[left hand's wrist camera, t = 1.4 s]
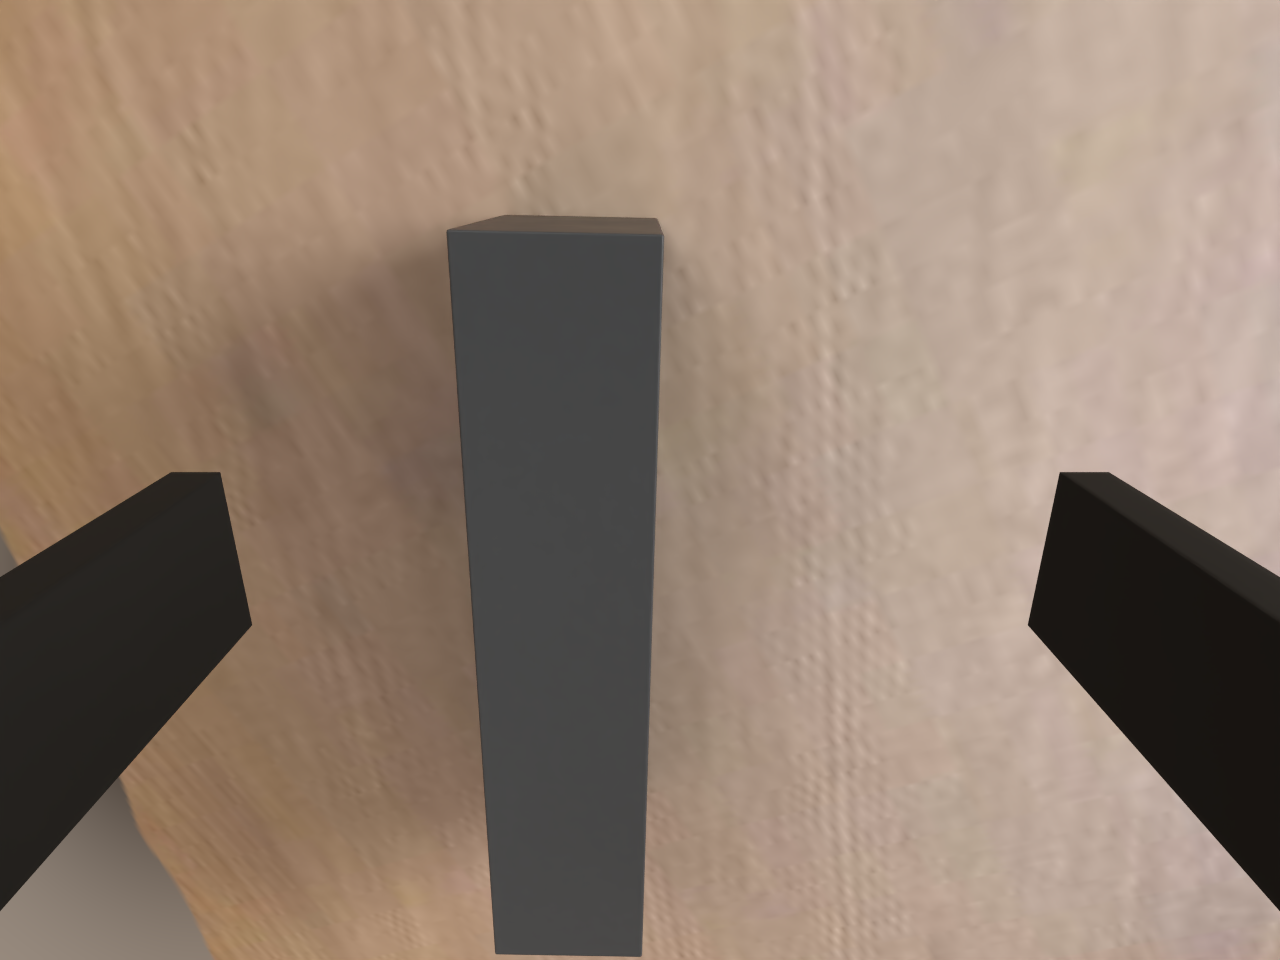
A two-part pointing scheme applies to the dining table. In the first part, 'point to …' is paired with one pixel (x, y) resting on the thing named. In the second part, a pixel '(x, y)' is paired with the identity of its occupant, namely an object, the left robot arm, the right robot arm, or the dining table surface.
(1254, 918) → the dining table surface
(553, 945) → the bar
